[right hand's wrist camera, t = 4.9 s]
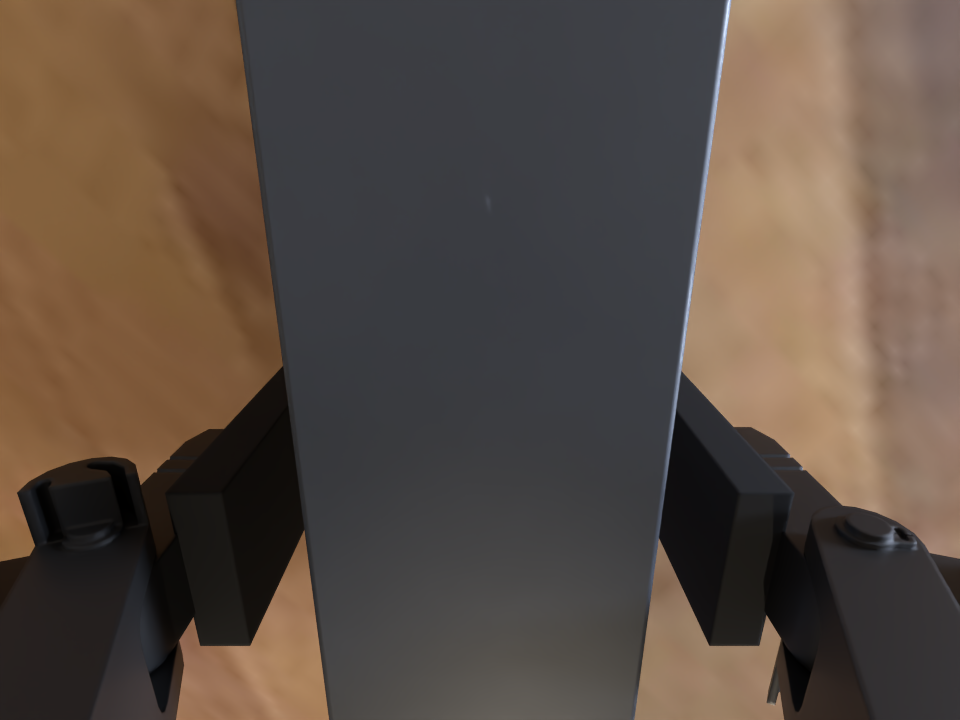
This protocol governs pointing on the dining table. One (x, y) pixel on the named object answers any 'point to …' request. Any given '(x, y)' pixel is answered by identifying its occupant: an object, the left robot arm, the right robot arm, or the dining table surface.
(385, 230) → the bar
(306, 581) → the dining table surface
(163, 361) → the dining table surface
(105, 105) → the dining table surface
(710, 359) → the dining table surface
